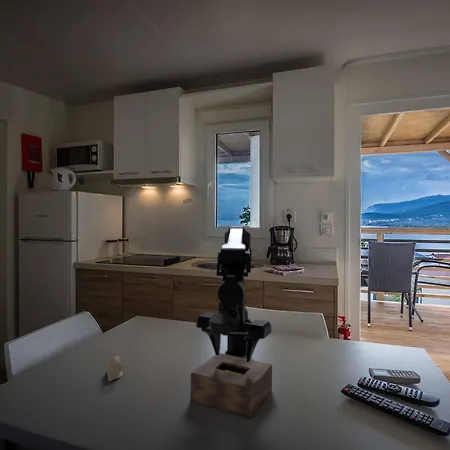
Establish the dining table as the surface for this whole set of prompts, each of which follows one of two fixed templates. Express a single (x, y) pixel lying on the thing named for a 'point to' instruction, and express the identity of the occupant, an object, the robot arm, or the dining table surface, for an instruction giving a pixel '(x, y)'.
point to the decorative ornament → (115, 368)
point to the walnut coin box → (232, 384)
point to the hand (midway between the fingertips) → (232, 358)
